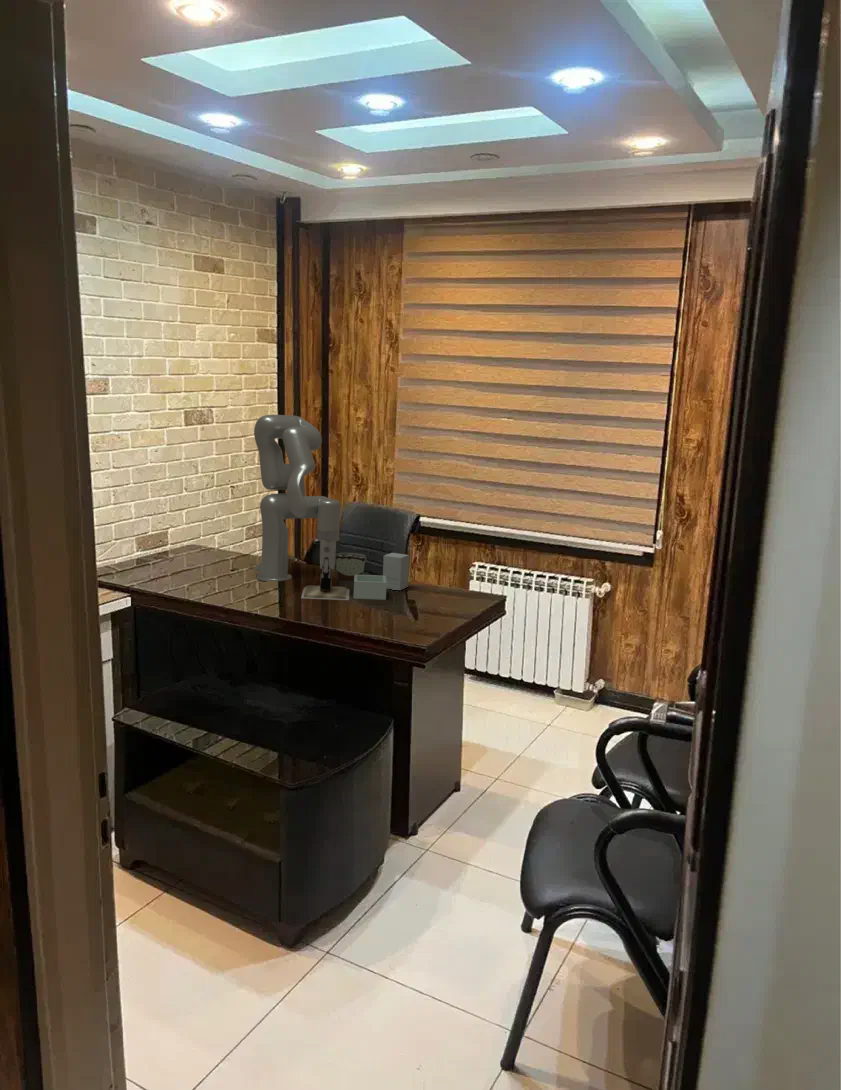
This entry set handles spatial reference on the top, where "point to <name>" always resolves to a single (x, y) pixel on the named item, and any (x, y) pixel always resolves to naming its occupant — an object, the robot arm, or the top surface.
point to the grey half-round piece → (349, 565)
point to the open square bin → (370, 587)
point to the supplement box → (396, 570)
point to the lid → (325, 591)
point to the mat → (326, 598)
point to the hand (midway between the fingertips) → (325, 587)
